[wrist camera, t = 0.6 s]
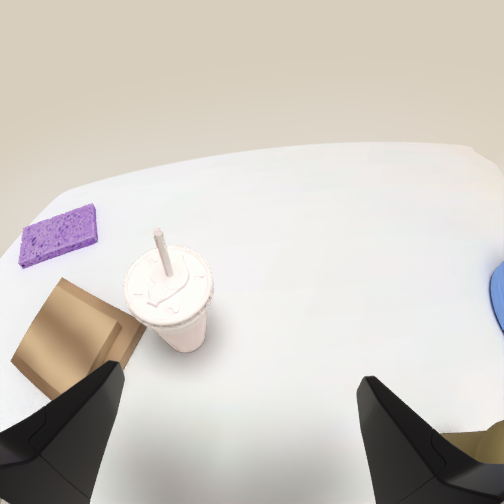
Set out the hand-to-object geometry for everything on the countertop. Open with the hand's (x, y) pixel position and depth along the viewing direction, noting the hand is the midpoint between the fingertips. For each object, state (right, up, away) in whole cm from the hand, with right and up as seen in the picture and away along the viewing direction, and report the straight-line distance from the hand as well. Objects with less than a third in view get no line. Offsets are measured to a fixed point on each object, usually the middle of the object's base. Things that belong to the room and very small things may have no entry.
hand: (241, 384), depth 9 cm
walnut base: (-18, -5, +14) cm, 23 cm away
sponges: (-26, +6, +24) cm, 36 cm away
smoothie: (-6, -3, +17) cm, 18 cm away
